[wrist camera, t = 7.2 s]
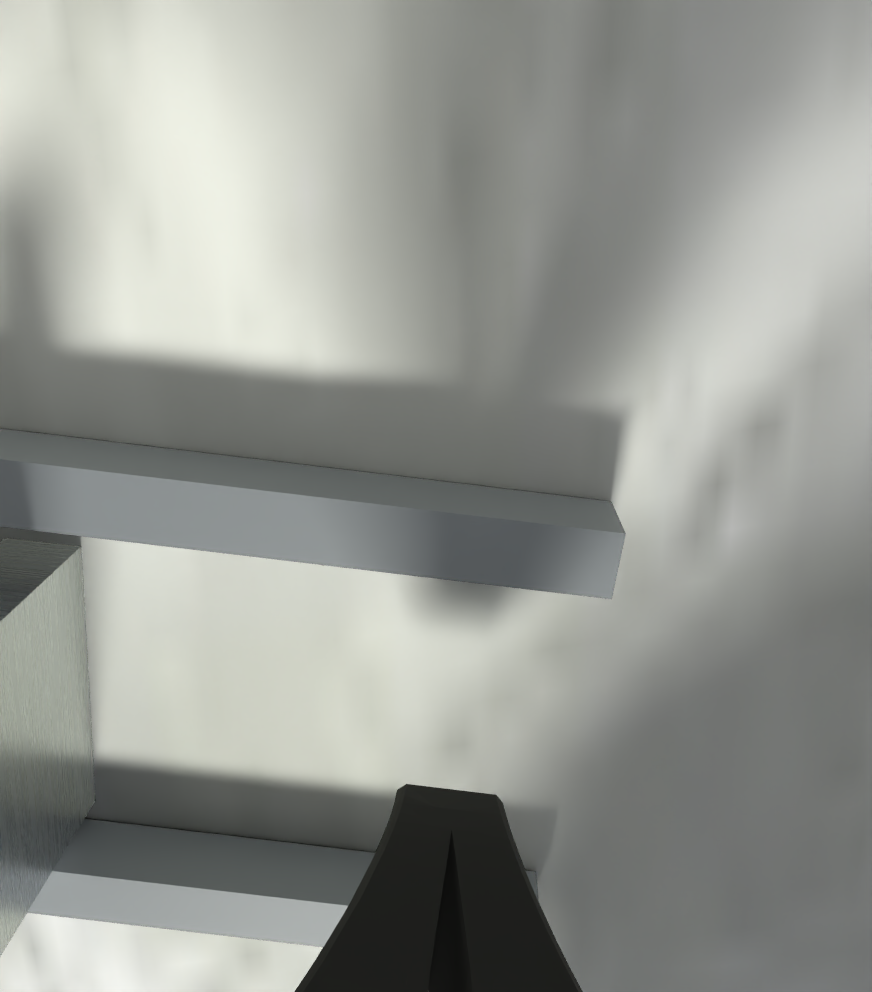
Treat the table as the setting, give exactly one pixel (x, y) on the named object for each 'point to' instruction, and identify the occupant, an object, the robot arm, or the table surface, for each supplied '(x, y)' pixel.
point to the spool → (41, 718)
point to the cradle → (291, 537)
